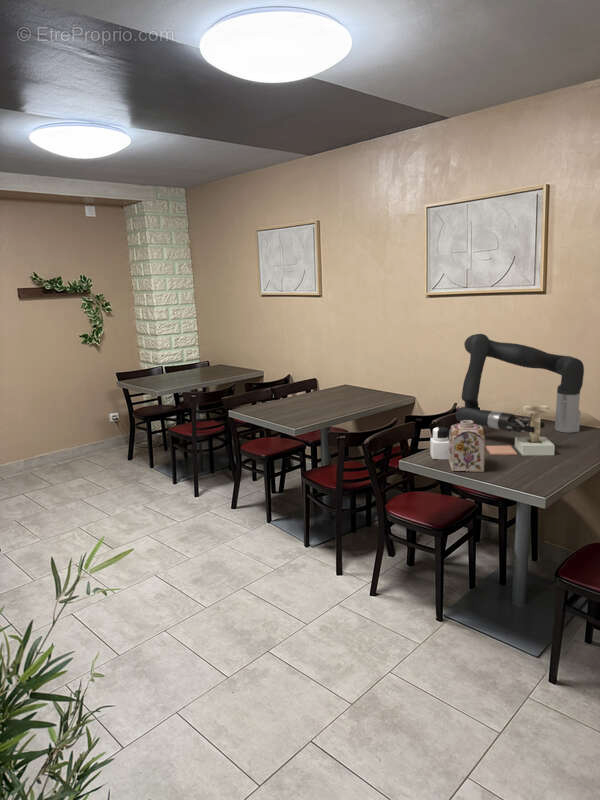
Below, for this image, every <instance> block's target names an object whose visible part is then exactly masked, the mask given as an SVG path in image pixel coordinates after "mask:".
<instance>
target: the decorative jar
mask: <svg viewBox="0 0 600 800" xmlns="http://www.w3.org/2000/svg"><path fill="white" fill-rule="evenodd" d="M448 438H449V459H448V463H449V465H450V468H451V471H452V472H453V471H466V472H467V473H469V472H470V473H473V472H474V473H484V472H485V449H486V444H485V440H486V438H485V432H484V428H483V426H481V425H477V424H473V421H471V420H463V421H461V422H460V421H459V423H455V424H452V425H451V426H450V428H449V429H448ZM468 471H469V472H468ZM466 472H465V473H466Z"/></svg>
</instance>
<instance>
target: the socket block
mask: <svg viewBox="0 0 600 800" xmlns="http://www.w3.org/2000/svg"><path fill="white" fill-rule="evenodd" d="M529 439H530V436H515V437H514V447H515V448H516V450H517V451H518V452H519V453H520V454H521V456H555V449H556V447H555V444H554V443H553V442H551V440H549V438H547V436H540V439H539V443H529Z"/></svg>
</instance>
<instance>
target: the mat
mask: <svg viewBox="0 0 600 800" xmlns="http://www.w3.org/2000/svg"><path fill="white" fill-rule="evenodd" d="M485 449H486V450H487V452H488V453H489V455H491V456H493V455H494V456H495V455H496V456H498V455H499V456H500V455H501V456H506V455H507V456H509V455H517V452H516V450H515V449H514V448H513V447H512V445H485Z"/></svg>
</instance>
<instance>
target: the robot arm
mask: <svg viewBox="0 0 600 800" xmlns="http://www.w3.org/2000/svg"><path fill="white" fill-rule="evenodd" d="M464 349H465V350H466V352H467V353H468V354H470V357H469V358H470V359H469V364H468V368H467V371H466V374H465V377H464V380H463V385H462V389H461V390H462V391H461V400H462V401H463V402H464V406H461V407H459V408H458V409H457V410H456V412H455V418H456V420H457V421H458V422H459V423H460V422H461V421H463V420H471V421H473V424H477V425H480V426H482V427H486V428H492V429H494V430H499V431H505V432H516V433H522V432H526V433H527V432H528V433H530V432H532V433H533V432H535V427H532V426H530V418H531V417H520V418H517V417H516V415H515V414H514V413H510V412H509V413H508V412H503V411H493V410H486V409H479V400H478V399H479V393H480V387H481V381H482V380H481V379H482V375H483V371H484V366H485V362H486V360H487V357H488V358H491V359H495V360H499V361H502V362H505V363H508V364H512V365H515V366H519V367H522V368H527V369H528V368H529V369H538V370H539V369H541V370H546V371H549V372H551V373H552V372H553V373H555V374H558V375H560V376H561V378H560V379H561V380H560V384H559V385H558V386H557V388H556V389H557V390H556V403H555V404H556V406H555V419H554V420H555V421H554V422H555V423H554V429H555V431H557V432H561V433H576V432H580V429H581V428H580V426H581V425H580V424H581V413H582V412H581V410H580V399H581V398H580V397H581V390H582V388H583V382H584V377H585V375H584V374H585V366H584V363H583V361H582V360H581V359H579V358H576V357H573V356H570V355H562V354H555V353H554V354H553V353H550V352H549V353H548V352H546V351H543V350H541V349H539V348H535V347H532V346H529V345H526V344H525V345H524V344H518V343H512V342H500V341H496V340H495V341H494V340H492V339H489V337H488V336H487V335H486V334H485V333H476V334H471V335H470V336H468V337H467V338H466V339H465V340H464ZM544 428H545V422H544V421H543V422H542V421H540V429H544Z"/></svg>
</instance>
